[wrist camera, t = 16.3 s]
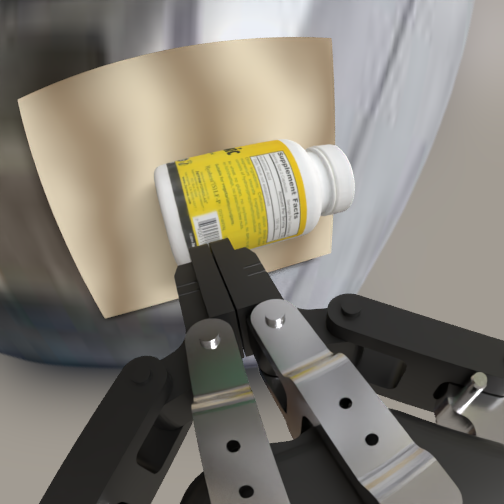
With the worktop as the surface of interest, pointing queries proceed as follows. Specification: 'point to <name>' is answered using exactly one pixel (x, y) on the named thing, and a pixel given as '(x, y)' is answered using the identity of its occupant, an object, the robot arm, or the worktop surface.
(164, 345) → the worktop surface
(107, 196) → the birch board
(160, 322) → the worktop surface
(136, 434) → the robot arm
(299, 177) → the supplement bottle
